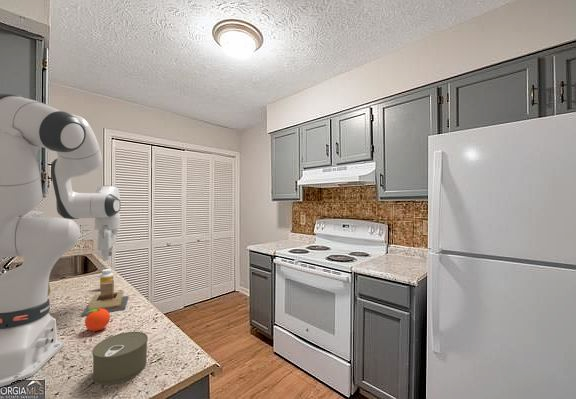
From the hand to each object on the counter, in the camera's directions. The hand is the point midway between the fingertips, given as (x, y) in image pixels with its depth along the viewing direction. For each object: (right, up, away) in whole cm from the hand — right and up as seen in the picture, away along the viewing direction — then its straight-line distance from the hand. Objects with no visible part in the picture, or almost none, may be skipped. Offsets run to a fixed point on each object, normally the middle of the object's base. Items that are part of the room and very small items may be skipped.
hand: (107, 258), depth 107 cm
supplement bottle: (-15, -21, +21) cm, 33 cm away
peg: (0, -19, 0) cm, 19 cm away
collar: (0, -20, 0) cm, 20 cm away
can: (+32, -20, -40) cm, 55 cm away
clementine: (+10, -20, -20) cm, 30 cm away
